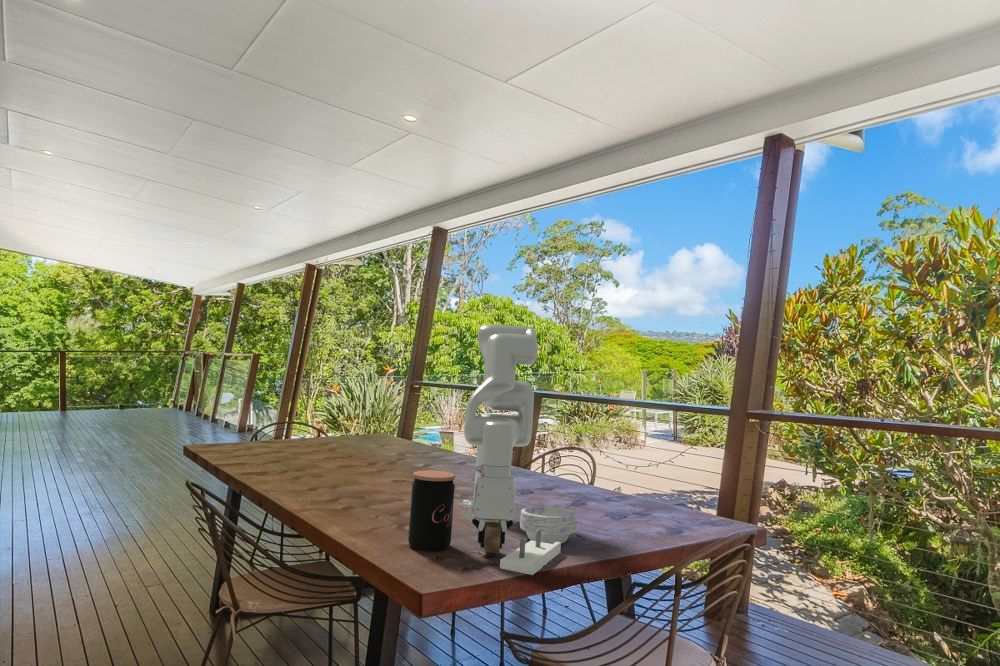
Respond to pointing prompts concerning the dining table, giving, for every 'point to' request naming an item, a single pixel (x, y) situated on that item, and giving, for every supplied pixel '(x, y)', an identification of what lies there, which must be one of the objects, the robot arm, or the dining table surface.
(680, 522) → the dining table surface
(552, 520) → the paper bowls
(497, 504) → the robot arm
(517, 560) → the white slotted base
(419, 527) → the coffee jar
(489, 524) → the wooden block
